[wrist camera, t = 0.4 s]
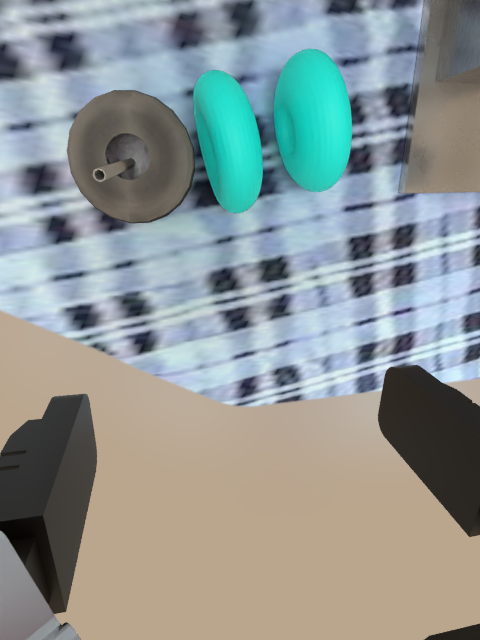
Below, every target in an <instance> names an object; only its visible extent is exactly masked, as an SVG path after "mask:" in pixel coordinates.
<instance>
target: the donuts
mask: <svg viewBox="0 0 480 640" xmlns="http://www.w3.org/2000/svg"><path fill="white" fill-rule="evenodd" d="M193 107H194V115H195V122H196V128H197V134H198V138H199V143H200V148H201V152H202V156H203V160H204V164H205V167H206V171H207V174H208V178H209V181H210V184H211V187H212V189H213V192H214V194H215V197H216V199H217V201H218V202H219V204H220V205H221V206H222V207H223V208H224V209H226V210H227V211H229V212H232V213H241V212H244V211H246V210H248V209H249V208H250V207H251V206H252V205H253V204H254V202H255V201H256V199H257V197H258V195H259V192H260V188H261V184H262V176H263V160H262V149H261V142H260V137H259V132H258V127H257V123H256V120H255V116H254V113H253V110H252V107H251V105H250V102H249V100H248V98H247V96H246V94H245V92H244V91H243V89H242V88H241V86H240V85H239V83H238V82H237V81H236V80H235V79H234V78H233V77H232V76H230V75H229V74H227V73H225V72H223V71H219V70H211V71H208V72H206V73H204V74H203V75H202V76H201V77H200V78H199V79H198V81H197V83H196V85H195V88H194V93H193ZM274 124H275V132H276V138H277V143H278V148H279V151H280V154H281V157H282V160H283V163H284V165H285V167H286V169H287V171H288V173H289V174H290V176H291V177H292V178H293V180H294V181H295V182H296V183H297V184H298V185H300V186H301V187H302V188H304V189H306V190H308V191H312V192H321V191H325V190H327V189H329V188H331V187H332V186H333V185H335V184H336V183H337V182H338V180H339V179H340V178H341V176H342V174H343V172H344V170H345V168H346V166H347V163H348V159H349V155H350V149H351V140H352V118H351V109H350V102H349V97H348V92H347V89H346V86H345V82H344V80H343V77H342V75H341V73H340V71H339V69H338V67H337V66H336V64H335V63H334V62H333V60H332V59H331V58H330V57H329V56H328V55H327V54H325V53H324V52H322V51H319V50H316V49H306V50H302V51H300V52H298V53H296V54H295V55H294V56H292V57H291V58H290V59H289V61H288V62H287V63H286V65H285V66H284V68H283V70H282V72H281V74H280V76H279V79H278V83H277V87H276V91H275V98H274Z"/></svg>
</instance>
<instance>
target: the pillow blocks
mask: <svg viewBox="0 0 480 640" xmlns="http://www.w3.org/2000/svg"><path fill="white" fill-rule="evenodd" d="M445 192H480V0H424V7H423V14H422V21H421V29H420V36H419V44H418V51H417V58H416V66H415V73H414V81H413V88H412V96H411V103H410V110H409V118H408V125H407V133H406V140H405V147H404V155H403V162H402V170H401V177H400V185H399V192H398V193H445Z"/></svg>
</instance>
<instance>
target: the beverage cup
mask: <svg viewBox="0 0 480 640" xmlns="http://www.w3.org/2000/svg"><path fill="white" fill-rule="evenodd" d="M67 154H68V159H69V165H70V170H71V174H72V176H73V178H74V180H75V182H76V184H77V186H78V188H79V190H80V192H81V193H82V194H83V195H84V196H85V197H86V198H87V199H88V201H89V202H90V203H91V204H92V205H93V206H94V207H95V208H96V209H98V210H100V211H101V212H103V213H105V214H106V215H108V216H110V217H111V218H113V219H117V220H121V221H125V222H128V223H147V222H153V221H155V220H158V219H160V218H163V217H165V216H167V215H169V214H170V213H171V212H172V211H173V210H174V209H176V208H177V207H178V206H179V205H180V204H181V203H182V202H183V200H184V198H185V196H186V195H187V193H188V191H189V190H190V188H191V184H192V180H193V175H194V171H195V162H194V148H193V146H192V143H191V140H190V138H189V135H188V132H187V129H186V128H185V126H184V125H183V124H182V122H181V121H180V119H179V118H178V117H177V115H176V114H175V113H174V111H173V110H171V109H170V108H169V107H167V106H166V105H165V104H163V103H162V102H161V101H159V100H158V99H157V98H155V97H152V96H150V95H147V94H144V93H141V92H138V91H135V90H114V91H111V92H108V93H106V94H103V95H101V96H98V97H95V98H94V99H92V100H91V101H90V102H89V103H88V104H87V105H86V106H85V107H84V108H83V109H81V110H80V111H79V113H78V115H77V117H76V119H75V121H74V123H73V125H72V127H71V129H70V132H69V140H68V147H67Z"/></svg>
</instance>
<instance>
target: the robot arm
mask: <svg viewBox="0 0 480 640" xmlns="http://www.w3.org/2000/svg"><path fill="white" fill-rule="evenodd" d="M378 421H379V426H380V429H381V431H382V433H383V435H384V437H385V438H386V439H387V440H388V441H389V443H390V444H391V445H392V446H393V447H394V448H395V449H396V451H397V452H398V453H399V454H400V456H401V457H402V458H403V459H404V460H405V462H406V463H407V464H408V465H409V466H410V467H411V469H412V470H413V471H414V472H415V473H416V474H417V475H418V477H419V478H420V479H421V480H422V482H423V483H424V484H425V485H426V486H427V487H428V489H429V490H430V491H431V492H432V493H433V495H434V496H435V497H436V498H437V499H438V500H439V502H441V504H442V505H443V506H444V507H445V509H446V510H447V511H448V512H449V513H450V515H451V516H452V517H453V518H454V519H455V520H456V522H457V523H458V524H459V525H460V526H461V528H462V529H463V530H464V531H465V532H466V533H467V535H468V536H469V537H472V536H477V535H480V406H478V405H477V404H476V403H472V400H470V399H469V398H468V397H466V396H465V395H464V394H462V393H461V392H459V391H458V390H457V389H454V388H452V387H450V386H448V385H446V384H444V383H442V382H440V381H439V380H438V379H436V378H435V377H434V376H432V375H431V374H429V373H428V372H427V371H425V370H424V369H423V368H421V367H420V366H418V365H409V366H398V367H390V368H389V369H388V370H387V371H386V374H385V378H384V384H383V390H382V395H381V401H380V407H379V413H378ZM0 454H1V455H0V640H81V638H80V637H79V636H78V634H77V633H76V631H75V630H74V629H73V627H72V626H71V625H70V624H68V623H64V624H63V625H61V624H60V623H59V621H58V620H57V618H56V617H55V615H54V614H56V613H61V612H66V609H67V604H68V600H69V595H70V590H71V586H72V581H73V576H74V571H75V567H76V562H77V558H78V552H79V548H80V543H81V539H82V534H83V529H84V525H85V519H86V515H87V511H88V506H89V501H90V496H91V491H92V487H93V482H94V478H95V473H96V465H97V449H96V442H95V434H94V428H93V421H92V415H91V408H90V402H89V398H88V396H87V394H79V395H67V396H55V397H53V398H52V399H51V401H50V403H49V405H48V407H47V409H46V411H45V414H44V415H43V417H42V419H37V420H28V421H27V422H26V423H25V424H23V425H22V426H21V427H20V428H19V429H18V430H16V431H15V432H14V433H13V434H12V435H11V436H10V437H9V439H8V441H7V443H6V444H5V446H4V448H3V450H2V451H1V453H0ZM425 640H480V624H477V625H472V626H468V627H464V628H460V629H456V630H452V631H448V632H443V633H439V634H435V635H431V636H429V637H427V638H426V639H425Z"/></svg>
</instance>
